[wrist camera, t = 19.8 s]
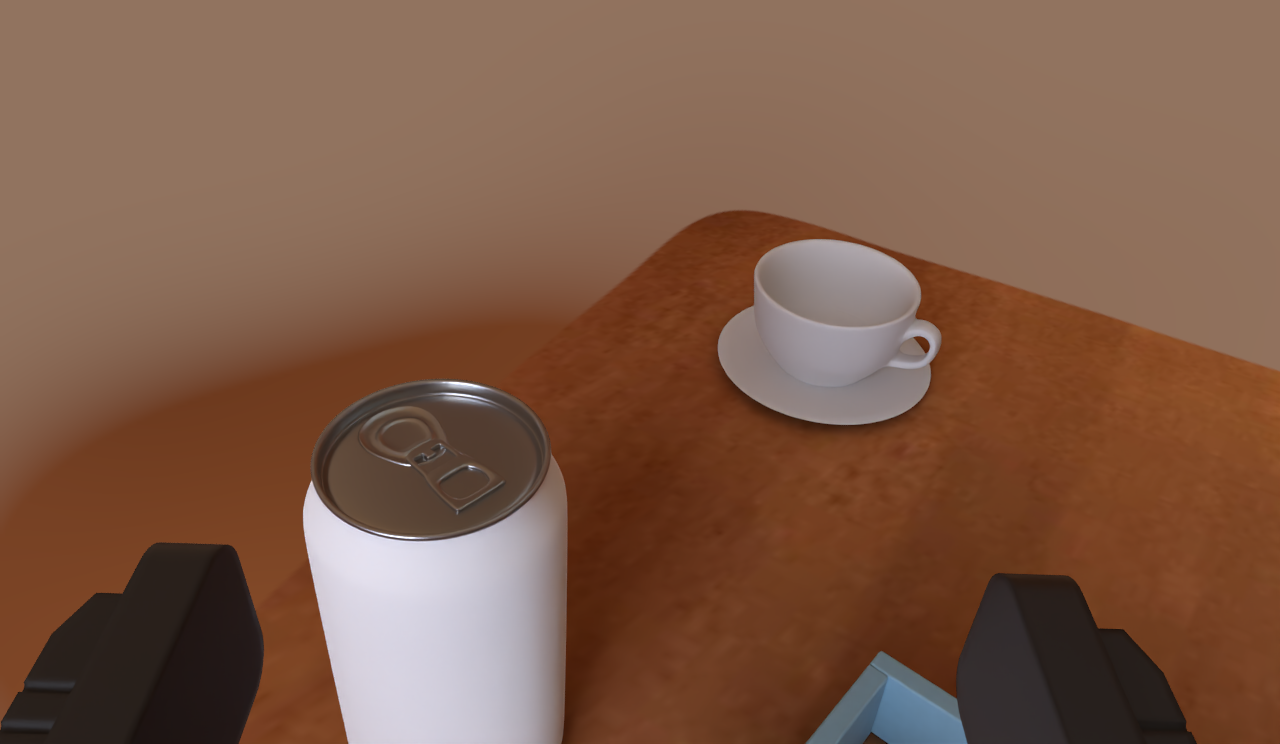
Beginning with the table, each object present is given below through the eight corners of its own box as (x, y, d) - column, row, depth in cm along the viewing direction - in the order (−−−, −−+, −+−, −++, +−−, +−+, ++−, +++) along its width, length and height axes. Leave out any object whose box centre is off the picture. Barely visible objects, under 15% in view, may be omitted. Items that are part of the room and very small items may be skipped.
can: (475, 618, 35) (455, 338, 27) (607, 737, 31) (625, 454, 24) (310, 736, 31) (236, 445, 23) (441, 886, 27) (402, 603, 20)
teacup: (679, 382, 46) (687, 297, 43) (769, 284, 53) (780, 205, 50) (888, 463, 42) (912, 376, 39) (954, 347, 49) (979, 265, 46)
